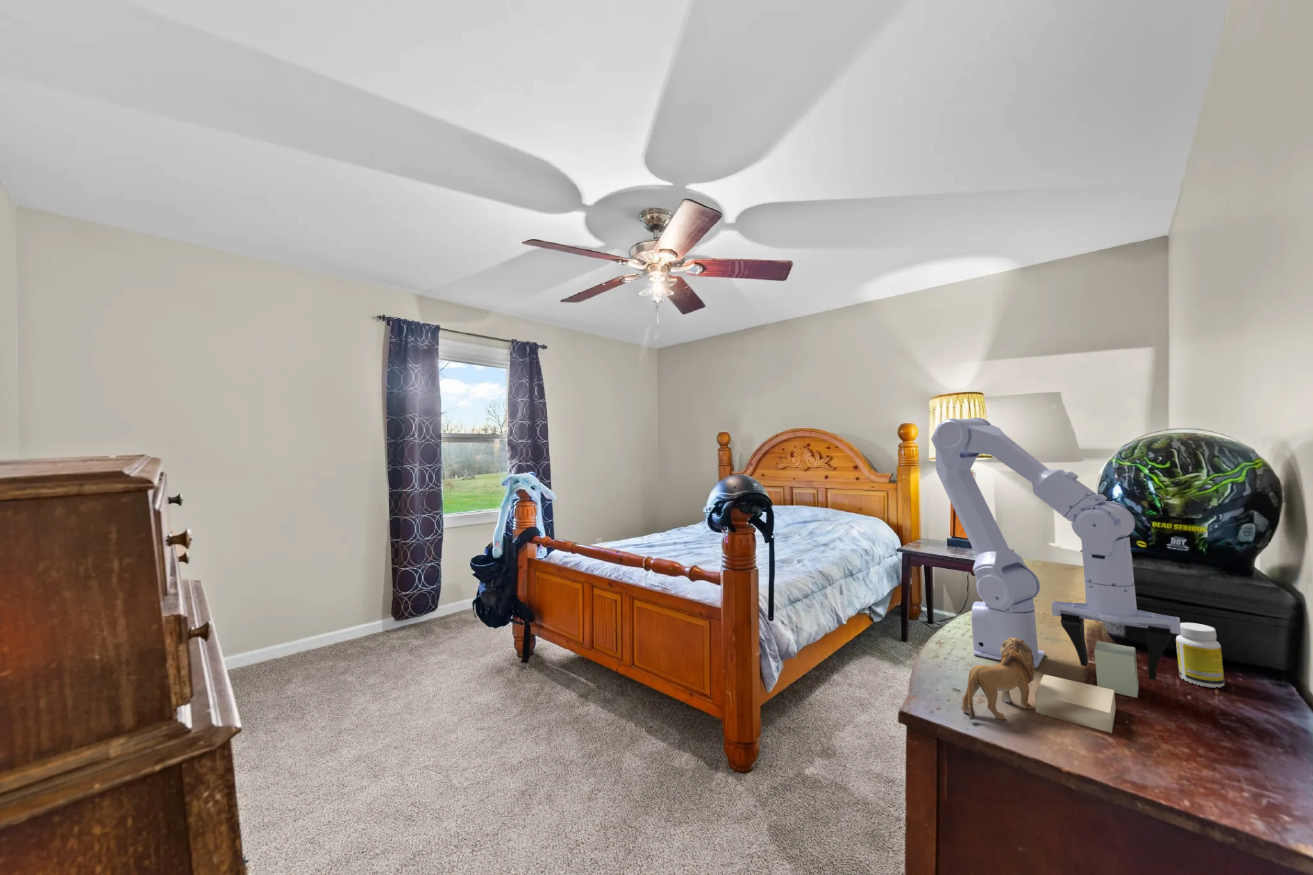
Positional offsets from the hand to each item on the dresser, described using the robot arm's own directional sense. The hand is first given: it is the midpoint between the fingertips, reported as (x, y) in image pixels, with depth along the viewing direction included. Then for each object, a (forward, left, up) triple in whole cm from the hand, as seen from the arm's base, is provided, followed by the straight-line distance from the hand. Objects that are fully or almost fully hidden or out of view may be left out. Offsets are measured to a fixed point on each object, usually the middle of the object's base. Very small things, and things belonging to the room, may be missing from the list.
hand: (1117, 670), depth 76 cm
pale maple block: (-4, -12, -3) cm, 13 cm away
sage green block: (0, 0, -3) cm, 3 cm away
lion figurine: (-12, -17, -3) cm, 21 cm away
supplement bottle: (+9, +10, -3) cm, 14 cm away
